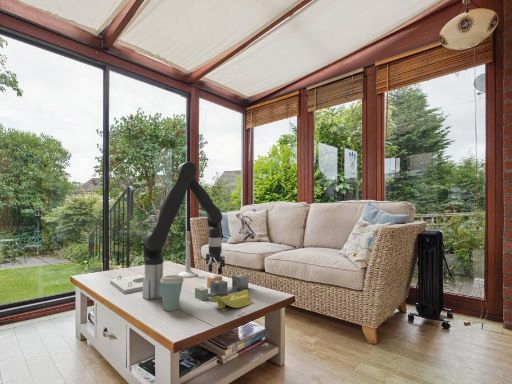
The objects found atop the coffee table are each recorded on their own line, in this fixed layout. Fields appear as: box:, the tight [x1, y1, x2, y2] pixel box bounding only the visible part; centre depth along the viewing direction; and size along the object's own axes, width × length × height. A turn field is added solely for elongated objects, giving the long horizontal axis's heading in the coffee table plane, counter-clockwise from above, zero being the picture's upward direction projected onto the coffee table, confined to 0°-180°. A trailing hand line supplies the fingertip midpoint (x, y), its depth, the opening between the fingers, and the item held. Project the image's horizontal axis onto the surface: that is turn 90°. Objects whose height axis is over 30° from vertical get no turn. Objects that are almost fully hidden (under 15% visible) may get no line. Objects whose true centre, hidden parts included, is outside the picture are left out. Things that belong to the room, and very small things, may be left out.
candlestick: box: [177, 231, 198, 279], centre depth 199 cm, size 13×13×30 cm
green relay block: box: [194, 286, 209, 301], centre depth 152 cm, size 4×6×5 cm, turn 45°
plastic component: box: [209, 289, 252, 310], centre depth 141 cm, size 20×7×10 cm
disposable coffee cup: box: [160, 274, 184, 312], centre depth 138 cm, size 11×11×15 cm
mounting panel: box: [109, 274, 167, 295], centre depth 179 cm, size 27×5×30 cm
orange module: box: [206, 274, 223, 289], centre depth 172 cm, size 7×5×6 cm
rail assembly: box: [208, 273, 249, 299], centre depth 163 cm, size 26×7×7 cm, turn 138°
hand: (215, 272), depth 173 cm, fingers open, 8 cm apart
